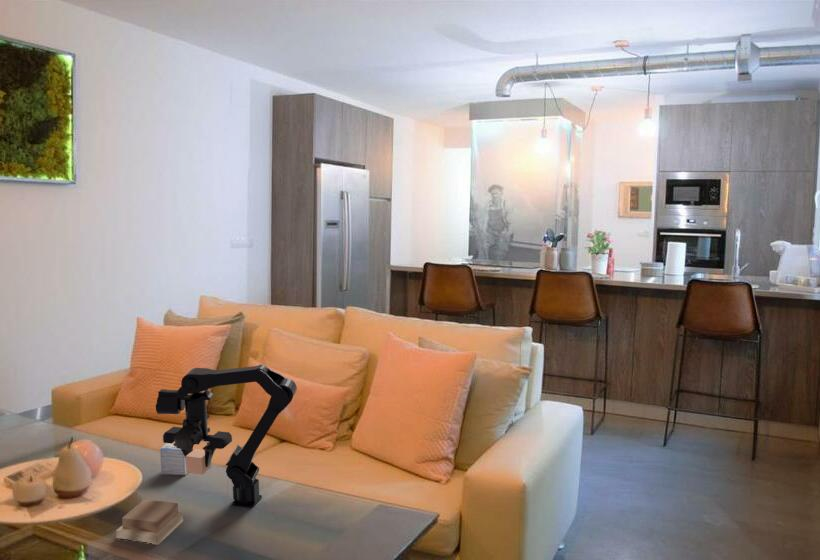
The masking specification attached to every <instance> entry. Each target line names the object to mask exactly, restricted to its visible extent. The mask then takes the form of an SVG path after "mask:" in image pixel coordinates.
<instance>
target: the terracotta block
mask: <svg viewBox="0 0 820 560" xmlns="http://www.w3.org/2000/svg"><path fill="white" fill-rule="evenodd" d="M211 468H212V461H211V462H210V464H209V466H208V467H206V465H205V451H204V450H203V449H199V448H195V449H193V451H192V452H190V453H189V454H188V455H186V473H187V474H192V475H201V476H202V475H204V474H205V473H206V472H208V471H209V470H210V469H211Z"/></svg>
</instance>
